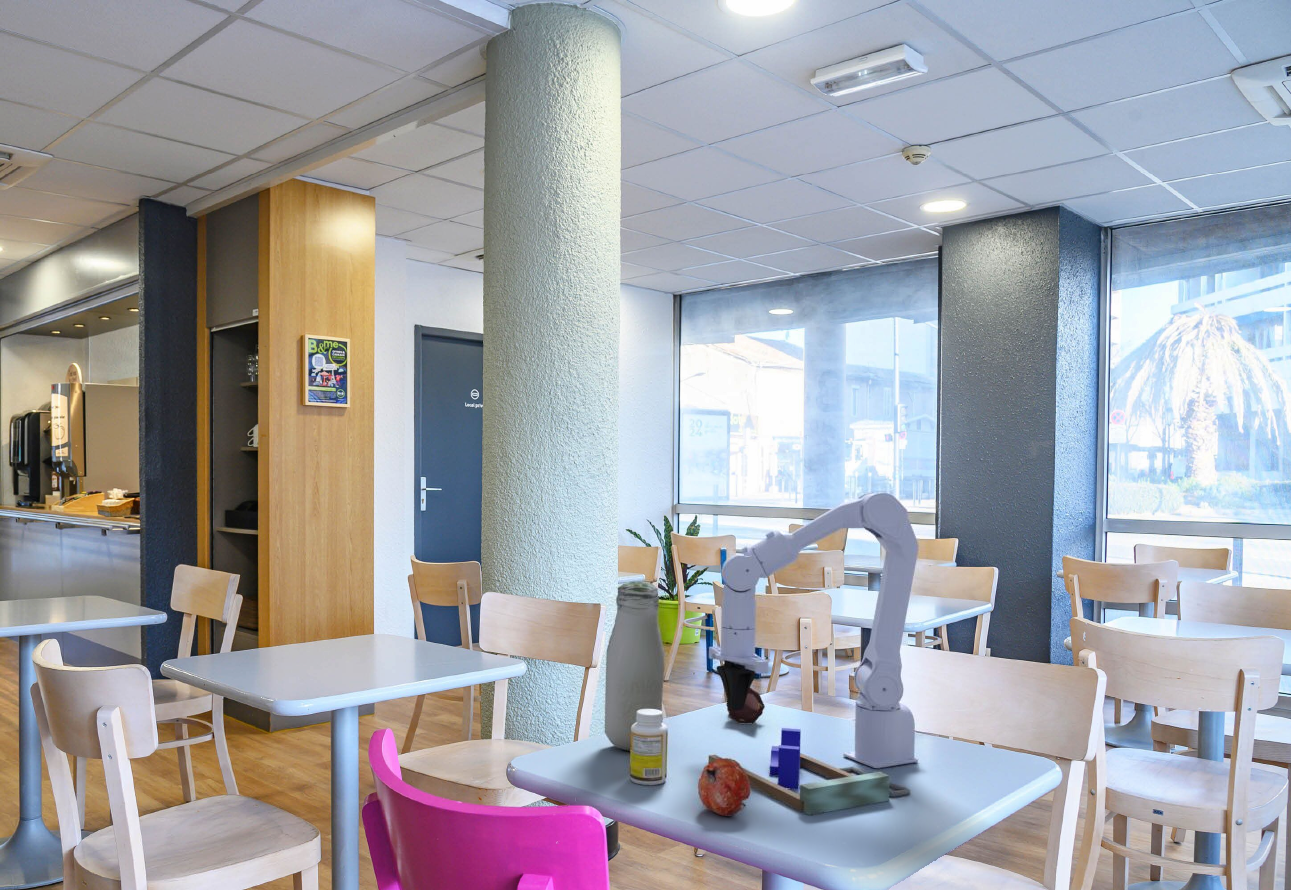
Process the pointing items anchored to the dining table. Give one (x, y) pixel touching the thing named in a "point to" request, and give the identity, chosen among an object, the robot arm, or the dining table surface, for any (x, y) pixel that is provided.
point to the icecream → (748, 709)
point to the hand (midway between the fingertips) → (736, 709)
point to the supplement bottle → (648, 748)
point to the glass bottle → (633, 661)
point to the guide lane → (825, 788)
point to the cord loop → (896, 793)
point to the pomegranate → (724, 787)
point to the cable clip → (787, 758)
